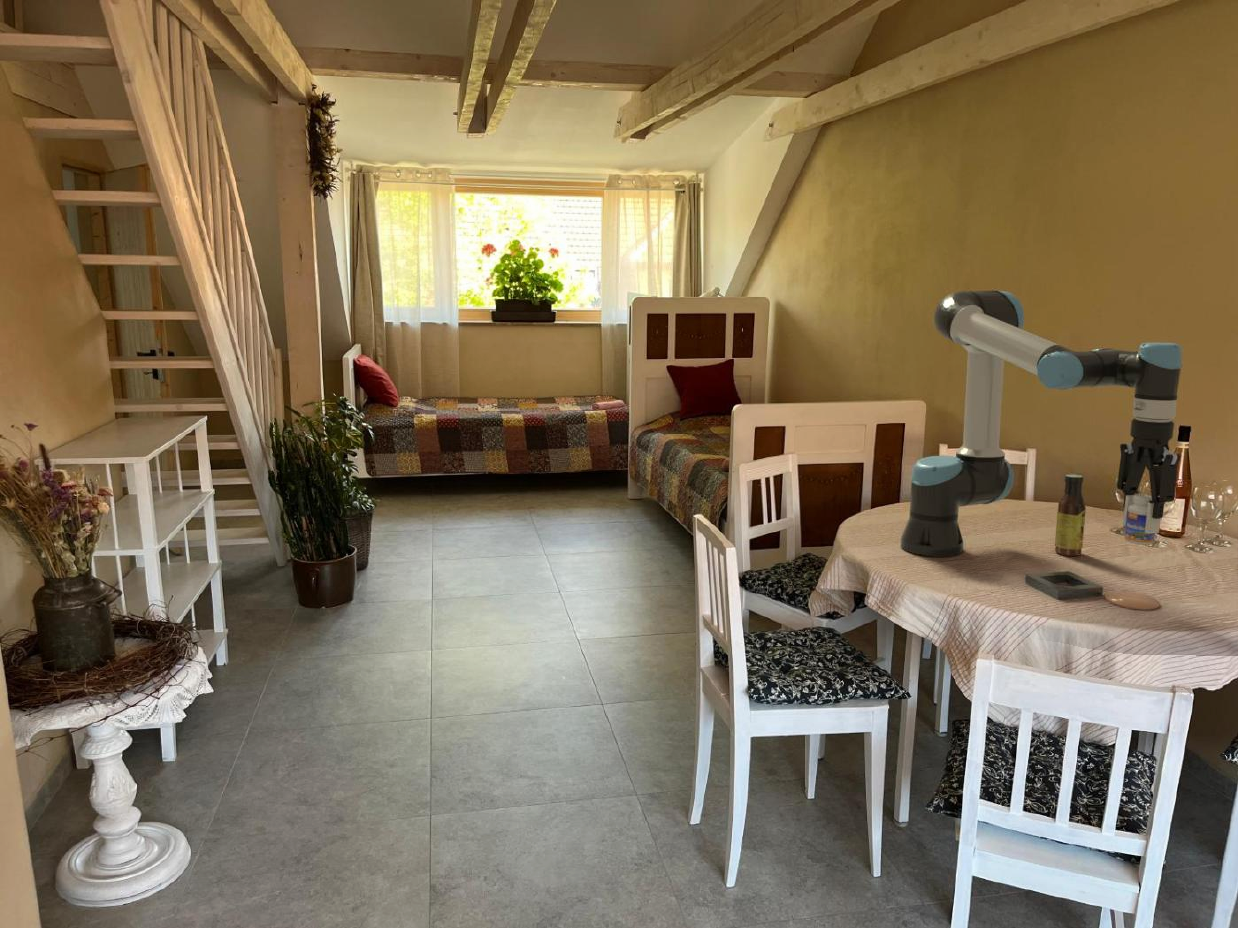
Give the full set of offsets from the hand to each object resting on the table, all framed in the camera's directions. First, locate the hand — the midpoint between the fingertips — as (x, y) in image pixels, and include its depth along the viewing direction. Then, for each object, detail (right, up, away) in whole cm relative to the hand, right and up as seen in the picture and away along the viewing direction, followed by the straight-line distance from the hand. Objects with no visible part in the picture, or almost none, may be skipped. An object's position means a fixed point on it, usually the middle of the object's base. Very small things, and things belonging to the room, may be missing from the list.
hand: (1140, 528), depth 185 cm
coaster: (0, -16, +3) cm, 16 cm away
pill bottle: (0, -3, +1) cm, 3 cm away
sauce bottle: (+3, -9, +37) cm, 38 cm away
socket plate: (-11, -14, +11) cm, 21 cm away
